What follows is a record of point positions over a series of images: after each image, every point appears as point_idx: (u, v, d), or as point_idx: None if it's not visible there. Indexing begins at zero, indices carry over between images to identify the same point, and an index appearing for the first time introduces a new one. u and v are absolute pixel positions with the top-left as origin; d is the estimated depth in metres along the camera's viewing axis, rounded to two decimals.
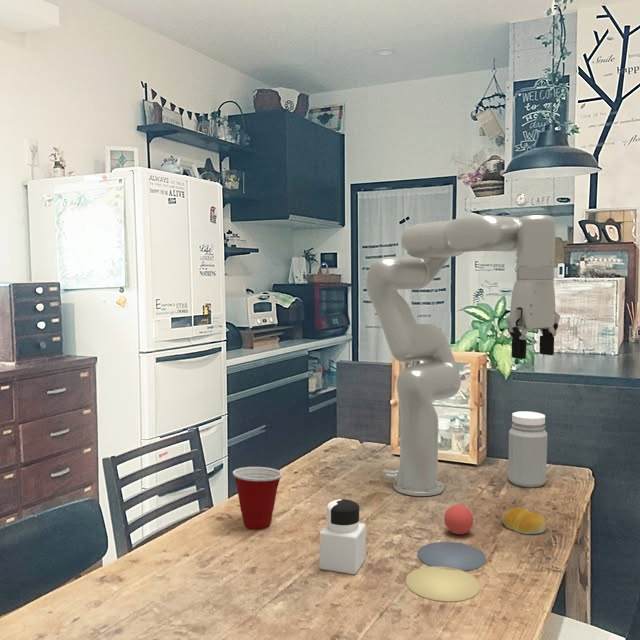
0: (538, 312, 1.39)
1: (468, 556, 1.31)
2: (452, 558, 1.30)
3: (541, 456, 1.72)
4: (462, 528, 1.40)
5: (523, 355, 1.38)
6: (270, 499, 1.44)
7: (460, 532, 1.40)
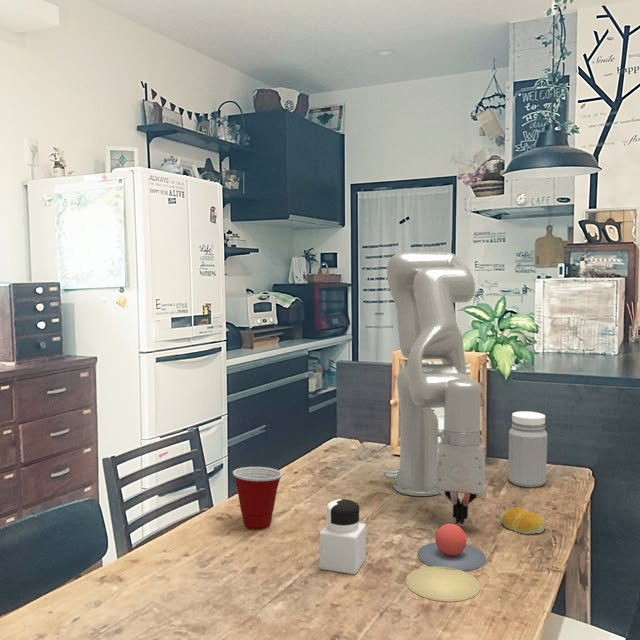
0: None
1: (468, 556, 1.31)
2: (452, 558, 1.30)
3: (541, 456, 1.72)
4: None
5: None
6: (270, 499, 1.44)
7: None
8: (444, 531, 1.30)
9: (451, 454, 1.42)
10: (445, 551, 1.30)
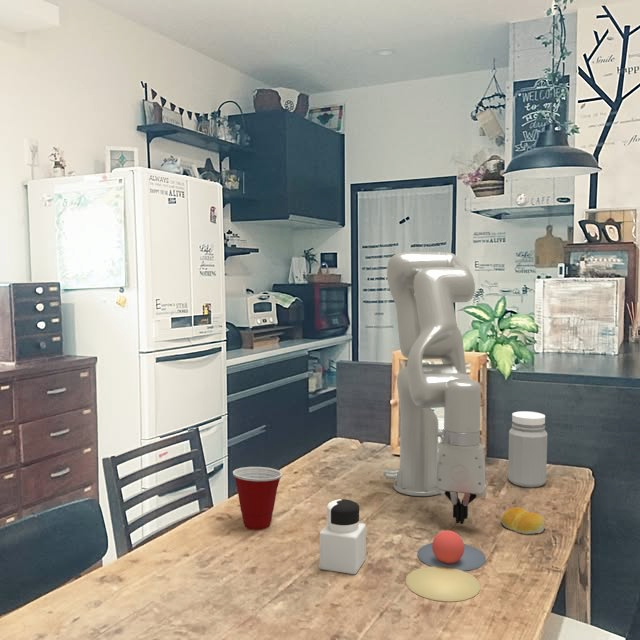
0: None
1: (468, 556, 1.31)
2: None
3: (541, 456, 1.72)
4: (453, 536, 1.27)
5: None
6: (270, 499, 1.44)
7: (450, 541, 1.26)
8: (440, 556, 1.26)
9: (451, 454, 1.42)
10: None
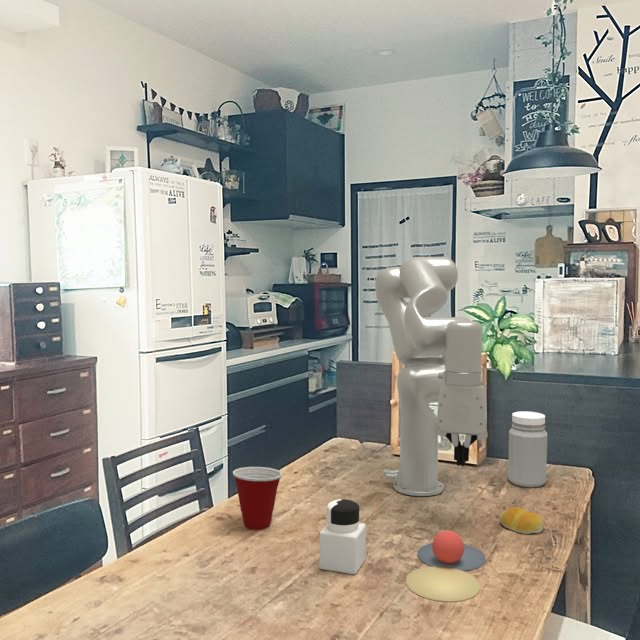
0: None
1: (468, 556, 1.31)
2: None
3: (541, 456, 1.72)
4: (453, 536, 1.27)
5: None
6: (270, 499, 1.44)
7: (450, 541, 1.26)
8: (440, 556, 1.26)
9: (452, 395, 1.41)
10: None
